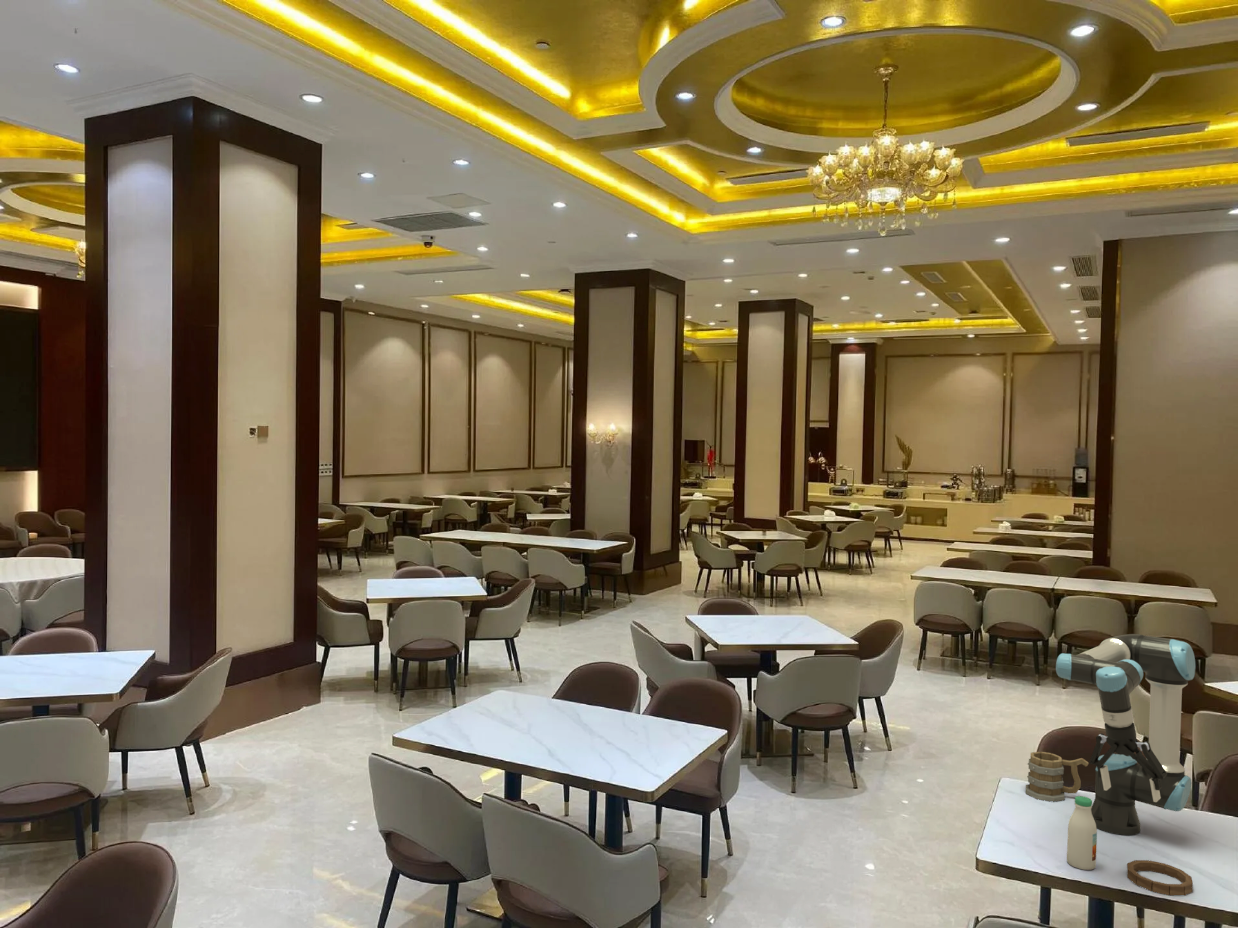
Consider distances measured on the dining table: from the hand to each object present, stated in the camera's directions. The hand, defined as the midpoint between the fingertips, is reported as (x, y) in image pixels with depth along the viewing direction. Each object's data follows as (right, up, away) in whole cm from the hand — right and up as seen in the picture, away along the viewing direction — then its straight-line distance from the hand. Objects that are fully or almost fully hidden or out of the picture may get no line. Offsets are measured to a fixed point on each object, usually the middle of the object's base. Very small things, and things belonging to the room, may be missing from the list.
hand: (1131, 794), depth 254 cm
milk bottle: (-7, -26, +14) cm, 31 cm away
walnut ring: (+10, -27, +4) cm, 29 cm away
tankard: (+11, -26, +67) cm, 73 cm away
